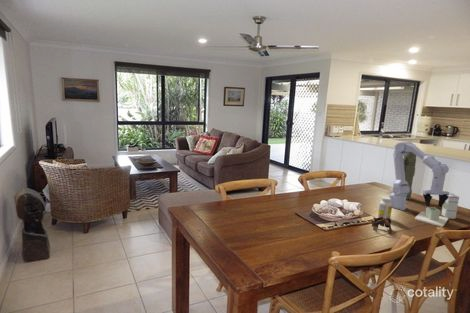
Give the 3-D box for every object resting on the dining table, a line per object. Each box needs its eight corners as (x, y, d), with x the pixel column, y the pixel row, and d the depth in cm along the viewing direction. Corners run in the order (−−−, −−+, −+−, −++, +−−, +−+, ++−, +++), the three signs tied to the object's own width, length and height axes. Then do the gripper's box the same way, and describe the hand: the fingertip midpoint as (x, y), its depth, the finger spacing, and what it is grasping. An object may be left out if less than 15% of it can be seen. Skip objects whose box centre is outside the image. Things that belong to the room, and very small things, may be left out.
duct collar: (430, 219, 169) (432, 210, 168) (424, 216, 174) (426, 206, 173) (438, 219, 169) (440, 210, 168) (432, 216, 174) (434, 207, 173)
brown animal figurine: (388, 237, 148) (381, 222, 148) (372, 237, 156) (365, 224, 156) (399, 226, 154) (392, 212, 155) (383, 227, 162) (377, 214, 163)
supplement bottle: (389, 217, 173) (392, 197, 171) (391, 221, 167) (394, 200, 165) (377, 215, 175) (379, 195, 173) (378, 219, 169) (381, 198, 167)
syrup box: (455, 219, 174) (460, 196, 171) (444, 218, 175) (449, 195, 172) (450, 215, 180) (455, 193, 177) (440, 214, 181) (444, 192, 178)
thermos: (414, 198, 210) (421, 151, 204) (404, 200, 205) (412, 152, 198) (402, 194, 218) (409, 149, 211) (392, 196, 212) (399, 150, 206)
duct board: (414, 219, 171) (415, 212, 170) (421, 212, 182) (422, 206, 181) (442, 227, 161) (444, 219, 161) (448, 219, 173) (449, 212, 172)
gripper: (429, 185, 164) (425, 208, 166) (455, 186, 164) (450, 209, 166) (422, 182, 171) (418, 203, 173) (446, 183, 171) (442, 204, 173)
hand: (433, 206), depth 170 cm, fingers open, 7 cm apart
